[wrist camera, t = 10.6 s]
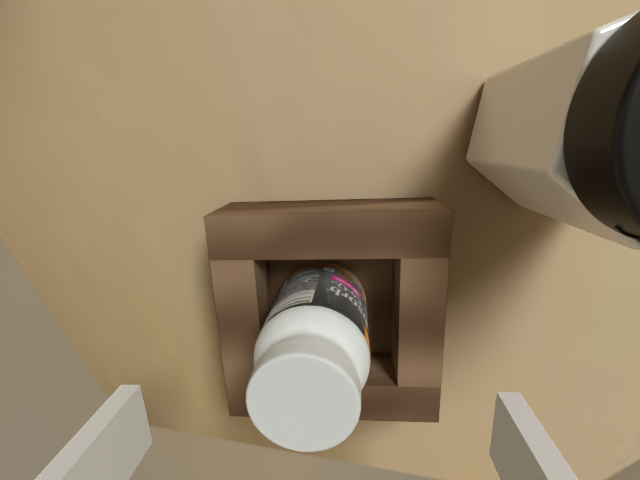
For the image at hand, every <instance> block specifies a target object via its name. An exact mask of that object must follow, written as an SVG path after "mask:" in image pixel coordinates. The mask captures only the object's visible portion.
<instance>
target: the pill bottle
mask: <svg viewBox="0 0 640 480" xmlns="http://www.w3.org/2000/svg"><path fill="white" fill-rule="evenodd" d="M369 370H370V346H369V333H368V317H367V304H366V296H365V292H364V290H363V287H362V285H361V283H360V282H359V280H358V279H357V278H356V277H355V276H354V275H353V274H352V273H351V272H350V271H349V270H347V269H346V268H344V267H342V266H339V265H337V264H333V263H329V262H315V263H311V264H307V265H305V266H302V267H301V268H299V269H297V270H296V271H295V272H294V273H292V274H291V275H290V277H289V278H288V279H287V280H286V282H285V284H284V285H283V287H282V289H281V291H280V293H279V295H278V297H277V299H276V301H275V303H274V305H273V307H272V309H271V311H270V313H269V315H268V317H267V318H266V321H265V323H264V325H263V327H262V329H261V331H260V333H259V335H258V338H257V340H256V343H255V349H254V369H253V372H252V375H251V377H250V380H249V383H248V386H247V390H246V406H247V410H248V413H249V416H250V418H251V420H252V422H253V424H254V425H255V426H256V428H257V429H258V430H259V431H260V432H261V433H262V434H263V435H264V436H265V437H266V438H268V439H269V440H270V441H272V442H273V443H275V444H277V445H279V446H281V447H284V448H287V449H290V450H294V451H300V452H316V451H322V450H326V449H329V448H332V447H334V446H336V445H338V444H340V443H341V442H343V441H344V440H345V439H346V438H347V437H348V436H349V435H350V434H351V433H352V431H353V430H354V428H355V427H356V425H357V423H358V420H359V416H360V413H361V390H362V389H363V387H364V385H365V383H366V381H367V378H368V375H369Z"/></svg>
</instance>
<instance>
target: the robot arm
mask: <svg viewBox="0 0 640 480" xmlns="http://www.w3.org/2000/svg"><path fill="white" fill-rule="evenodd" d="M152 443H153V442H152V437H151V433H150V428H149V424H148V419H147V415H146V410H145V406H144V401H143V397H142V392H141V388H140V385H120V386H119V387H118V389H117V390H116V391H115V392H114V393H113V394H112V395H111V396H110V397H109V398H108V399H107V401H106V402H105V403H104V404H103V405H102V406H101V407H100V408H99V409H98V410H97V412H96V413H95V414H94V415H93V416H92V417H91V418H90V419H89V420H88V422H87V423H86V424H85V425H84V426H83V427H82V428H81V429H80V430H79V432H78V433H77V434H76V435H75V436H74V437H73V438H72V439H71V440H70V441H69V442H68V443H67V444H66V446H65V447H64V448H63V449H62V450H61V451H60V452H59V453H58V454H57V455H56V457H55V458H54V459H53V460H52V461H51V462H50V463H49V464H48V465H47V466H46V468H45V469H44V470H43V471H42V472H41V473H40V474H39V475H38V476H37V477H36V479H35V480H129V479H130V477H131V475H132V474H133V473H134V471H135V469H136V468H137V466H138V465H139V463H140V462H141V460H142V458H143V457H144V455H145V454H146V452H147V451H148V449H149V447H150V446H151V444H152ZM489 454H490V456H491V459H492V461H493V463H494V465H495V468H496V470H497V472H498V474H499V477H500V479H501V480H578V478H577V477H576V475H575V474H574V472H573V471H572V469H571V468H570V466H569V465H568V463H567V462H566V460H565V459H564V457H563V456H562V454H561V453H560V451H559V450H558V448H557V447H556V445H555V444H554V442H553V441H552V440H551V438H550V437H549V435H548V434H547V432H546V431H545V429H544V428H543V426H542V425H541V423H540V422H539V420H538V419H537V417H536V416H535V414H534V413H533V411H532V410H531V408H530V407H529V405H528V404H527V402H526V401H525V399H524V398H523V396H522V395H521V393H517V392H497V397H496V405H495V413H494V421H493V429H492V437H491V445H490V453H489Z"/></svg>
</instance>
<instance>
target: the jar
mask: <svg viewBox="0 0 640 480" xmlns="http://www.w3.org/2000/svg"><path fill="white" fill-rule="evenodd" d="M466 160H467V162H468V163H469V164H471V165H472V166H473V167H474V168H475V169H477V170H478V171H479V172H480V173H481V174H482V175H484V176H485V177H486V178H487V179H488V180H489V181H491V182H492V183H493V184H494V185H495V186H497V187H498V188H499V189H500V190H501V191H502V192H504V193H505V194H506V195H507V196H508V197H509V198H511V199H512V200H513V201H514V202H515V203H516V204H518V205H519V206H521V207H524V208H527V209H529V210H532V211H535V212H537V213H540V214H542V215H545V216H548V217H550V218H553V219H555V220H558V221H561V222H563V223H566V224H568V225H571V226H574V227H576V228H579V229H582V230H584V231H587V232H589V233H592V234H595V235H597V236H600V237H602V238H605V239H608V240H610V241H613V242H616V243H618V244H621V245H623V246H626V247H629V248H631V249H635V250H639V249H640V10H638V11H636V12H633V13H631V14H629V15H626V16H624V17H622V18H619V19H617V20H614V21H612V22H610V23H607V24H605V25H603V26H600V27H598V28H596V29H593V30H591V31H589V32H587V33H585V34H582V35H580V36H578V37H576V38H574V39H572V40H569V41H567V42H565V43H563V44H561V45H558V46H556V47H554V48H552V49H550V50H547V51H545V52H543V53H541V54H539V55H536V56H534V57H532V58H530V59H528V60H525V61H523V62H521V63H519V64H517V65H515V66H512V67H510V68H508V69H506V70H504V71H501V72H499V73H497V74H495V75H493V76H490V77H488V78H487V79H486V81H485V83H484V87H483V91H482V95H481V99H480V103H479V107H478V111H477V115H476V119H475V123H474V127H473V131H472V135H471V139H470V143H469V147H468V151H467V155H466Z"/></svg>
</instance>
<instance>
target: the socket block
mask: <svg viewBox="0 0 640 480" xmlns="http://www.w3.org/2000/svg"><path fill="white" fill-rule="evenodd" d="M204 223H205V231H206V239H207V246H208V254H209V261H210V269H211V277H212V284H213V292H214V299H215V307H216V315H217V322H218V330H219V337H220V345H221V353H222V360H223V368H224V375H225V383H226V391H227V398H228V406H229V413H230V416H247V417H250V416H249V413H248V410H247V406H246V390H247V386H248V383H249V380H250V377H251V375H252V372H253V369H254V349H255V343H256V340H257V338H258V335H259V333H260V331H261V329H262V327H263V325H264V323H265V321H266V318H267V317H268V315H269V313H270V311H271V309H272V307H273V305H274V303H275V301H276V299H277V297H278V295H279V293H280V291H281V289H282V287H283V285H284V284H285V282H286V280H287V279H288V278H289V277H290V275H291V274H292V273H294V272H295V271H296V270H297V269H299V268H301V267H302V266H305V265H307V264H311V263H315V262H329V263H333V264H337V265H339V266H342V267H344V268H346V269H347V270H349V271H350V272H351V273H352V274H353V275H354V276H355V277H356V278H357V279H358V280H359V282H360V283H361V285H362V287H363V290H364V292H365V296H366V304H367V317H368V333H369V346H370V370H369V375H368V378H367V381H366V383H365V385H364V387H363V389H362V390H361V413H360V416H359V420H375V421H406V422H438V423H439V409H440V394H441V378H442V363H443V348H444V333H445V317H446V302H447V287H448V272H449V256H450V241H451V226H452V211H451V210H450V209H448V208H447V207H446V206H444V205H443V204H441V203H440V202H438V201H437V200H435V199H434V198H432V197H427V198H387V199H347V200H307V201H267V202H231V203H229V204H227V205H225V206H223V207H221V208H219V209H217V210H215V211H213V212H211V213H210V214H208V215H206V216H204Z"/></svg>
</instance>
